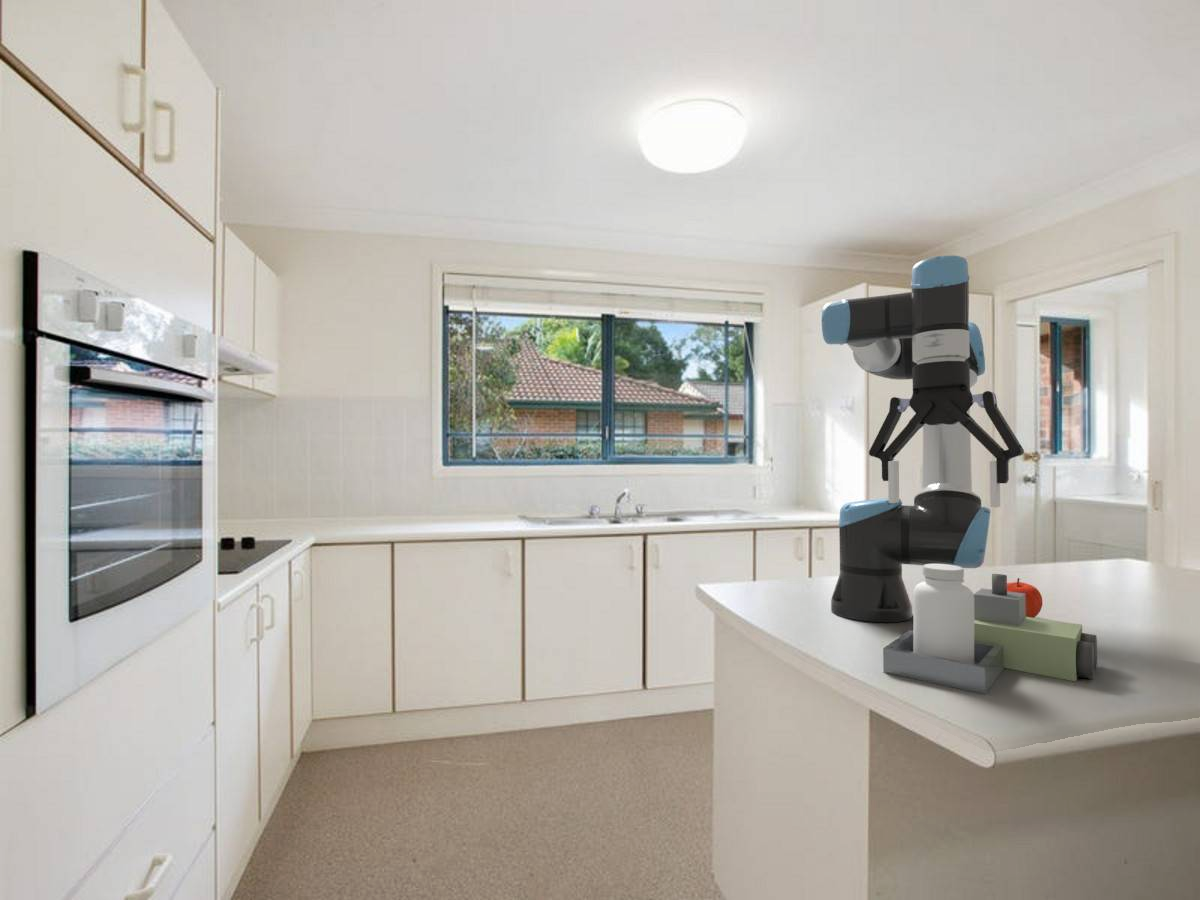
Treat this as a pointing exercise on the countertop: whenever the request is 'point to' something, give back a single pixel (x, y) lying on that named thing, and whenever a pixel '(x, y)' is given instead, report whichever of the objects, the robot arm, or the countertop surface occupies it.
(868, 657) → the countertop surface
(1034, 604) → the apple
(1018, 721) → the countertop surface
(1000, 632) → the green roller box
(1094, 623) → the countertop surface
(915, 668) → the grey square tray
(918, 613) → the pill bottle
